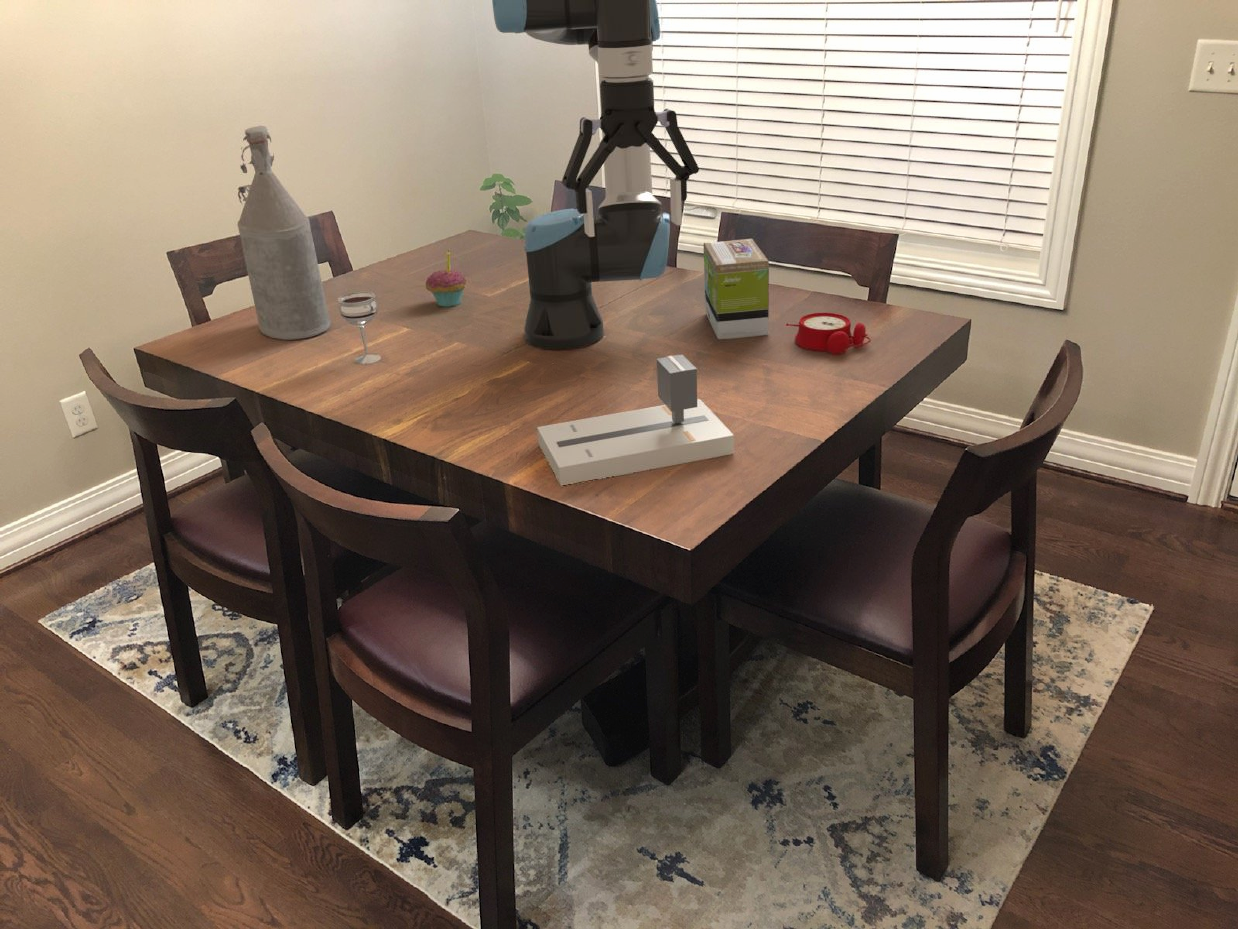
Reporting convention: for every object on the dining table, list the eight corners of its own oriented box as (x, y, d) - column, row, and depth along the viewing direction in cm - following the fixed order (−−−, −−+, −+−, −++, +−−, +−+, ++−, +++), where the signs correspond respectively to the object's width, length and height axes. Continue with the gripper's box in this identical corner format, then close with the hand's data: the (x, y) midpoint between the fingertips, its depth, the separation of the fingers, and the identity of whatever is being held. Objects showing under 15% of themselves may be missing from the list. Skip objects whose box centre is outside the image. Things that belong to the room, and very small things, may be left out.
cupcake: (477, 299, 218) (470, 244, 212) (451, 312, 211) (443, 255, 206) (446, 294, 222) (439, 240, 216) (420, 306, 216) (411, 251, 210)
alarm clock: (815, 308, 191) (881, 308, 180) (820, 340, 193) (885, 342, 181) (778, 322, 185) (843, 323, 174) (783, 355, 187) (848, 358, 176)
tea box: (703, 314, 202) (702, 240, 195) (753, 310, 203) (754, 236, 196) (716, 340, 189) (715, 263, 182) (769, 336, 189) (771, 258, 182)
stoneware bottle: (296, 312, 217) (255, 118, 198) (345, 327, 207) (307, 124, 188) (243, 330, 208) (195, 129, 190) (292, 346, 198) (246, 135, 180)
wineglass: (373, 349, 194) (362, 289, 189) (393, 357, 190) (382, 295, 184) (342, 360, 190) (330, 298, 185) (361, 368, 186) (350, 305, 180)
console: (538, 445, 154) (537, 426, 153) (699, 416, 160) (699, 398, 159) (560, 486, 142) (559, 467, 141) (733, 453, 148) (733, 434, 147)
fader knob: (658, 414, 153) (656, 357, 149) (683, 410, 154) (682, 353, 150) (672, 431, 148) (670, 372, 144) (697, 426, 149) (696, 368, 145)
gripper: (545, 89, 136) (558, 245, 146) (719, 72, 142) (720, 223, 152) (533, 83, 142) (546, 233, 152) (700, 67, 148) (702, 212, 158)
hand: (633, 228), depth 152 cm, fingers open, 13 cm apart
